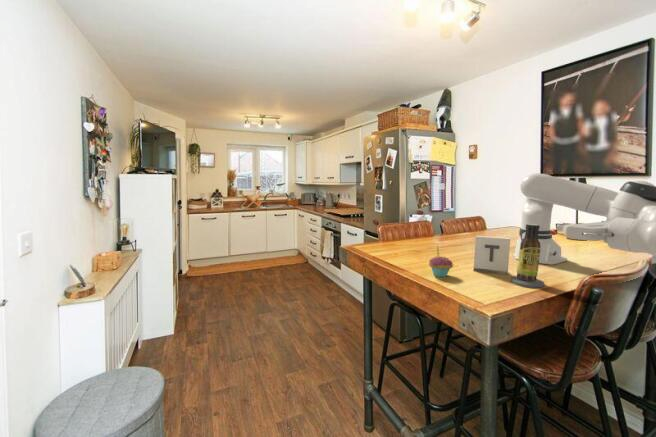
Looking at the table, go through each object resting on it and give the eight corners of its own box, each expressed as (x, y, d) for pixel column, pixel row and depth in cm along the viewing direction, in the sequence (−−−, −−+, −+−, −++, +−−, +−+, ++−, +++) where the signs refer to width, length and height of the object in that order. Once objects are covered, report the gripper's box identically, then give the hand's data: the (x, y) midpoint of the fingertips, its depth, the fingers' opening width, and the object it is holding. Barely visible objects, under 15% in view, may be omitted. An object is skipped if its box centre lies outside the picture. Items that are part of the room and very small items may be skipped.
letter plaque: (473, 271, 128) (475, 236, 126) (473, 268, 132) (475, 234, 130) (507, 275, 123) (510, 239, 121) (506, 272, 127) (509, 237, 125)
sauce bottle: (520, 281, 112) (525, 225, 109) (513, 276, 118) (517, 222, 115) (541, 282, 111) (546, 225, 108) (532, 277, 117) (537, 223, 114)
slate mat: (523, 277, 120) (523, 274, 120) (550, 285, 111) (550, 283, 110) (504, 280, 116) (504, 277, 116) (530, 289, 107) (531, 286, 107)
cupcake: (439, 279, 117) (440, 247, 115) (423, 273, 125) (424, 243, 123) (456, 276, 120) (458, 245, 119) (440, 270, 128) (442, 241, 127)
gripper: (598, 248, 83) (544, 239, 96) (642, 242, 91) (587, 234, 103) (601, 224, 82) (546, 218, 95) (645, 220, 90) (589, 215, 103)
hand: (568, 226), depth 99 cm, fingers open, 8 cm apart
